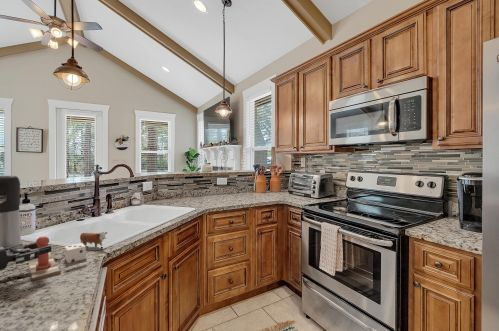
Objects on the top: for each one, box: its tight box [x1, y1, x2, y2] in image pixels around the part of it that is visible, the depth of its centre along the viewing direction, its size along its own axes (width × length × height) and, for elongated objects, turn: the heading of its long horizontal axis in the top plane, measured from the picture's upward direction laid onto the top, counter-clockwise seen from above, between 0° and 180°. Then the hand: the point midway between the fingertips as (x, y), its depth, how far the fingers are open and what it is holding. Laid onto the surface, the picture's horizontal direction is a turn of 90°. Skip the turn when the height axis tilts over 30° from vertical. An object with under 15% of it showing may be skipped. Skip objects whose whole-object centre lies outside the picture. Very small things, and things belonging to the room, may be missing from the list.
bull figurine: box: [79, 231, 108, 248], centre depth 114 cm, size 4×13×8 cm, turn 78°
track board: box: [27, 252, 62, 282], centre depth 97 cm, size 25×8×1 cm, turn 45°
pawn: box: [35, 235, 51, 271], centre depth 93 cm, size 4×4×12 cm
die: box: [64, 242, 87, 264], centre depth 101 cm, size 6×6×6 cm
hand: (45, 246), depth 94 cm, fingers open, 8 cm apart
